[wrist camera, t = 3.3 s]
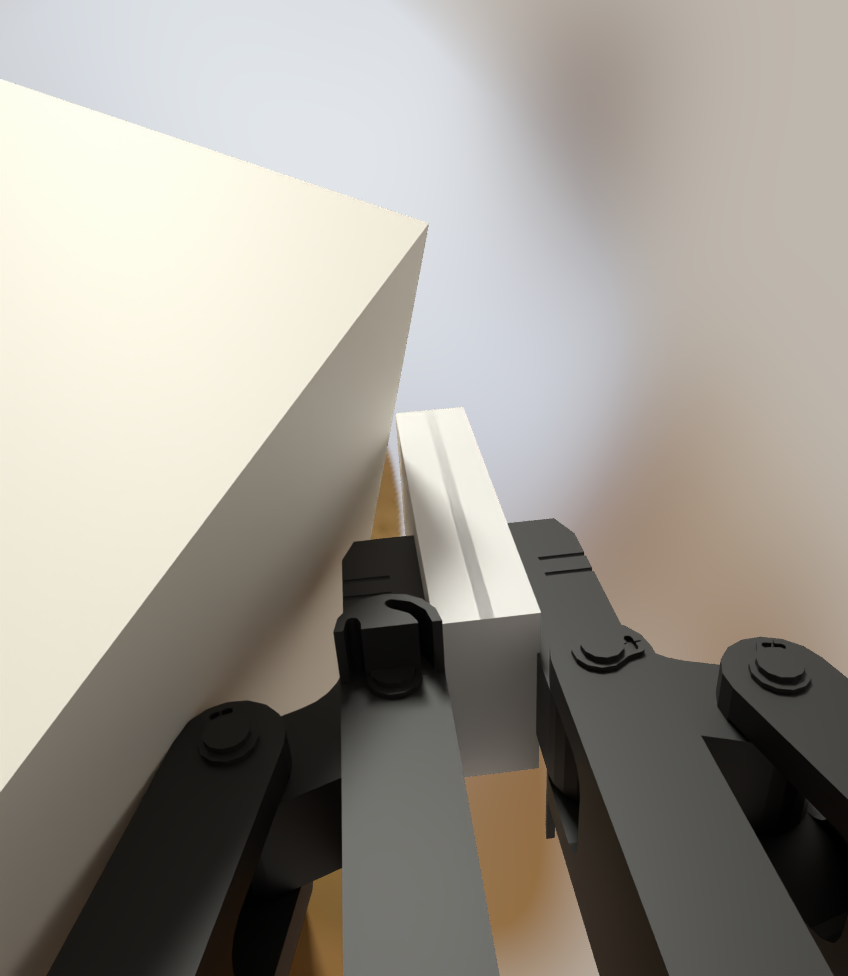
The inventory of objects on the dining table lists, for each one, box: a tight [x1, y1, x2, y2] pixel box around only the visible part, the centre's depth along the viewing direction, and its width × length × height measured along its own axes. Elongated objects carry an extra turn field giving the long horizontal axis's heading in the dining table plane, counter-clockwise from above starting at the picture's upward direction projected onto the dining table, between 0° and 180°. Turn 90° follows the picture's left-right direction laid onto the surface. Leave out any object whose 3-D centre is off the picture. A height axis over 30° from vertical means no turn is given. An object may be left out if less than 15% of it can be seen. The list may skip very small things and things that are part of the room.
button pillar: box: [0, 79, 429, 976], centre depth 20 cm, size 10×14×32 cm
